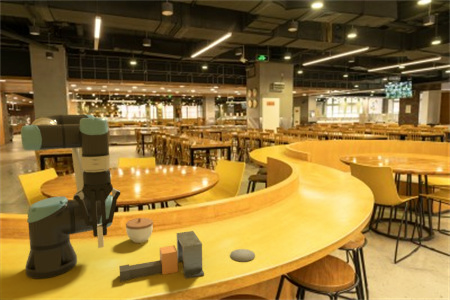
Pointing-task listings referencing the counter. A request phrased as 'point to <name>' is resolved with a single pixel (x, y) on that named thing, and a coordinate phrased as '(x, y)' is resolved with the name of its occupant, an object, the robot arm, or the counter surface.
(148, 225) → the lidded jar
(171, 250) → the plug
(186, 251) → the housing
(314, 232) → the counter surface
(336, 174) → the counter surface
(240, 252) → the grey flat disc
